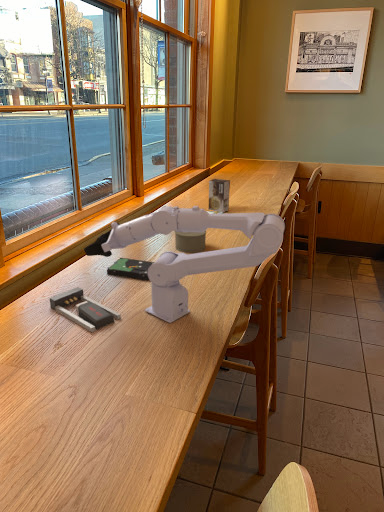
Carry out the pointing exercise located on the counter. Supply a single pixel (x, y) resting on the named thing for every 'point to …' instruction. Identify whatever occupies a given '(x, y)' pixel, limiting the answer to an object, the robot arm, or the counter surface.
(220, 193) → the coffee box
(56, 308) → the dock
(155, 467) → the counter surface
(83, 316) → the usb drive
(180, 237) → the can
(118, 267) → the disk drive
